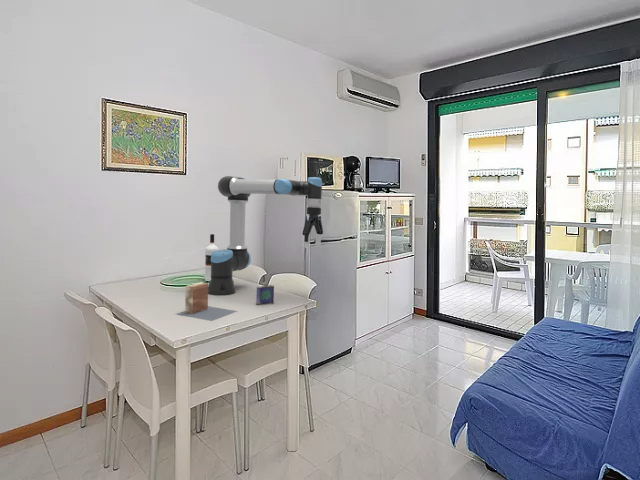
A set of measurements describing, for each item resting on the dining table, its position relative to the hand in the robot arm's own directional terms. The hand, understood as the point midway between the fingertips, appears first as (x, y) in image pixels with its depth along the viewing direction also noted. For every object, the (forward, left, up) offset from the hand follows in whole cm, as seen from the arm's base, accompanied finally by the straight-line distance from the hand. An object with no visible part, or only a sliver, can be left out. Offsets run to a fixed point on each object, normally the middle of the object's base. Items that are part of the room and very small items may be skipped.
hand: (312, 247), depth 210 cm
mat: (-27, -51, -28) cm, 64 cm away
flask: (-15, -22, -28) cm, 39 cm away
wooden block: (-33, -51, -27) cm, 67 cm away
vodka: (-74, +9, -28) cm, 80 cm away
